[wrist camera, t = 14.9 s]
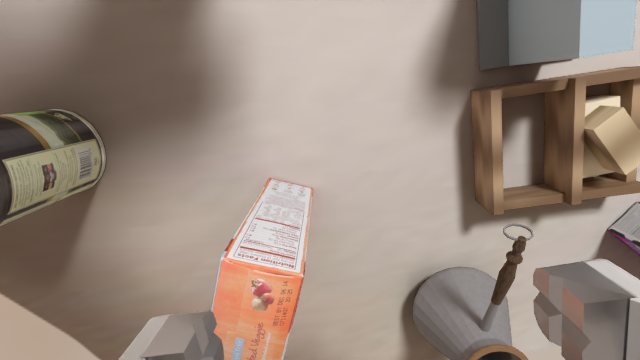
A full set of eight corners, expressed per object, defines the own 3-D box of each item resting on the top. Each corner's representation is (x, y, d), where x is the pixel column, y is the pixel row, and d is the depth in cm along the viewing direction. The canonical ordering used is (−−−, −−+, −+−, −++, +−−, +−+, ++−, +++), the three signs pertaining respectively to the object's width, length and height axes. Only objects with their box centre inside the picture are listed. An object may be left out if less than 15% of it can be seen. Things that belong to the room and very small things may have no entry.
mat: (476, -20, 36) (478, -22, 36) (576, -38, 36) (580, -40, 35) (479, 70, 39) (481, 70, 38) (573, 55, 38) (577, 55, 37)
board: (507, -27, 36) (583, -75, 25) (548, -34, 35) (642, -85, 25) (509, 65, 38) (579, 58, 27) (547, 59, 38) (633, 49, 27)
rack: (470, 90, 39) (490, 91, 34) (621, 67, 38) (663, 64, 33) (475, 200, 43) (494, 215, 38) (613, 182, 41) (651, 194, 37)
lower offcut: (558, 103, 40) (579, 104, 36) (595, 95, 39) (620, 96, 36) (561, 170, 42) (582, 178, 38) (597, 163, 41) (620, 170, 38)
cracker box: (292, 286, 46) (264, 443, 26) (247, 276, 46) (184, 426, 26) (317, 187, 43) (307, 279, 22) (269, 175, 42) (214, 257, 22)
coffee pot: (493, 333, 47) (565, 442, 33) (406, 335, 48) (440, 444, 33) (507, 179, 42) (601, 230, 27) (409, 183, 42) (451, 235, 28)
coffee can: (5, 123, 42) (-153, 141, 28) (83, 97, 41) (-41, 103, 27) (46, 202, 44) (-80, 255, 30) (121, 180, 43) (25, 224, 29)
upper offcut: (572, 126, 37) (593, 129, 34) (600, 105, 36) (623, 107, 33) (603, 168, 38) (625, 175, 35) (630, 148, 37) (655, 153, 34)
